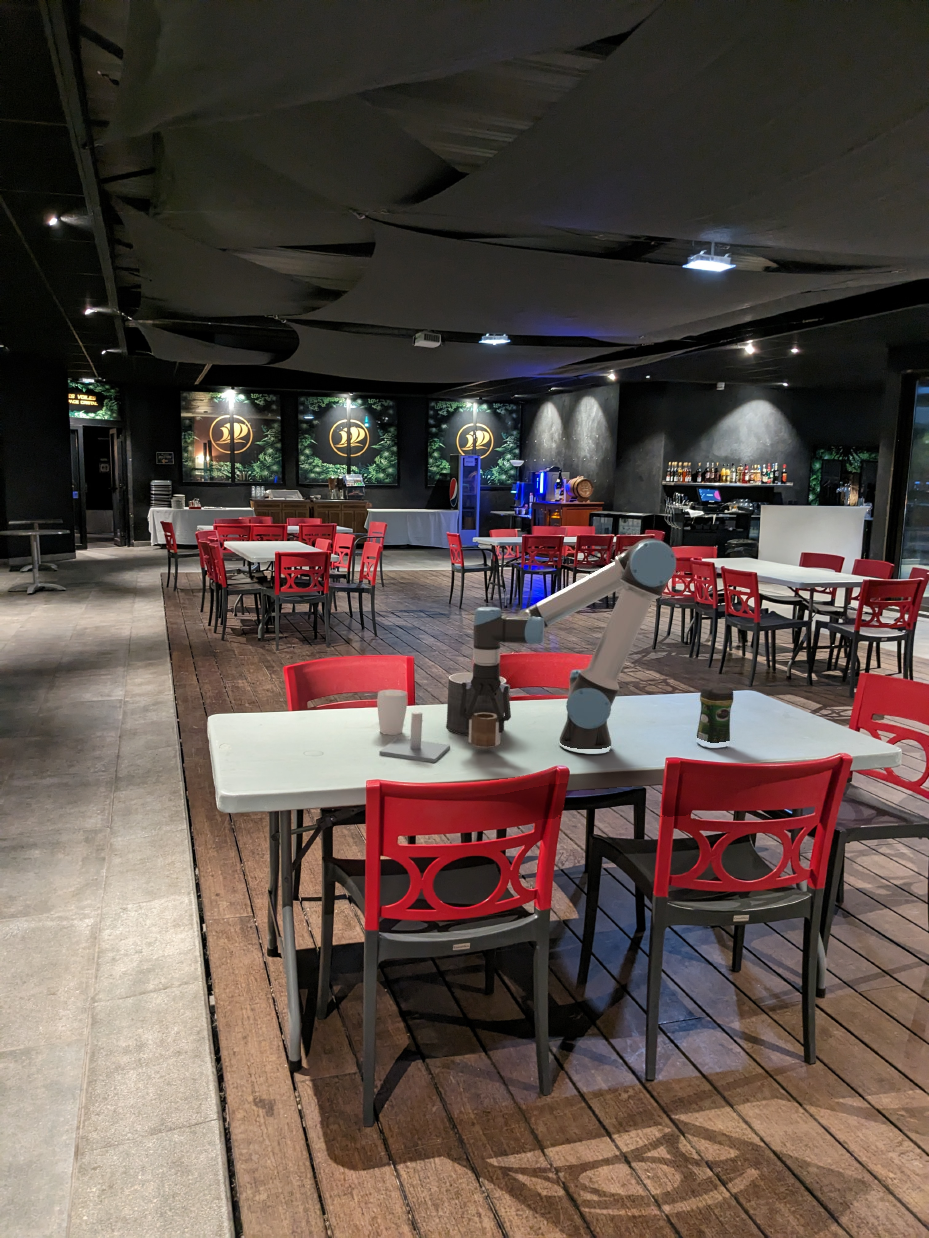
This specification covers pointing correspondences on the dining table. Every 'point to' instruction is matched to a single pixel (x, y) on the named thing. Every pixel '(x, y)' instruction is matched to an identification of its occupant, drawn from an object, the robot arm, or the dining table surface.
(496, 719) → the collar
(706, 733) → the coffee jar
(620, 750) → the dining table surface
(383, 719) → the cup
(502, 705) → the planter
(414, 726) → the post block
